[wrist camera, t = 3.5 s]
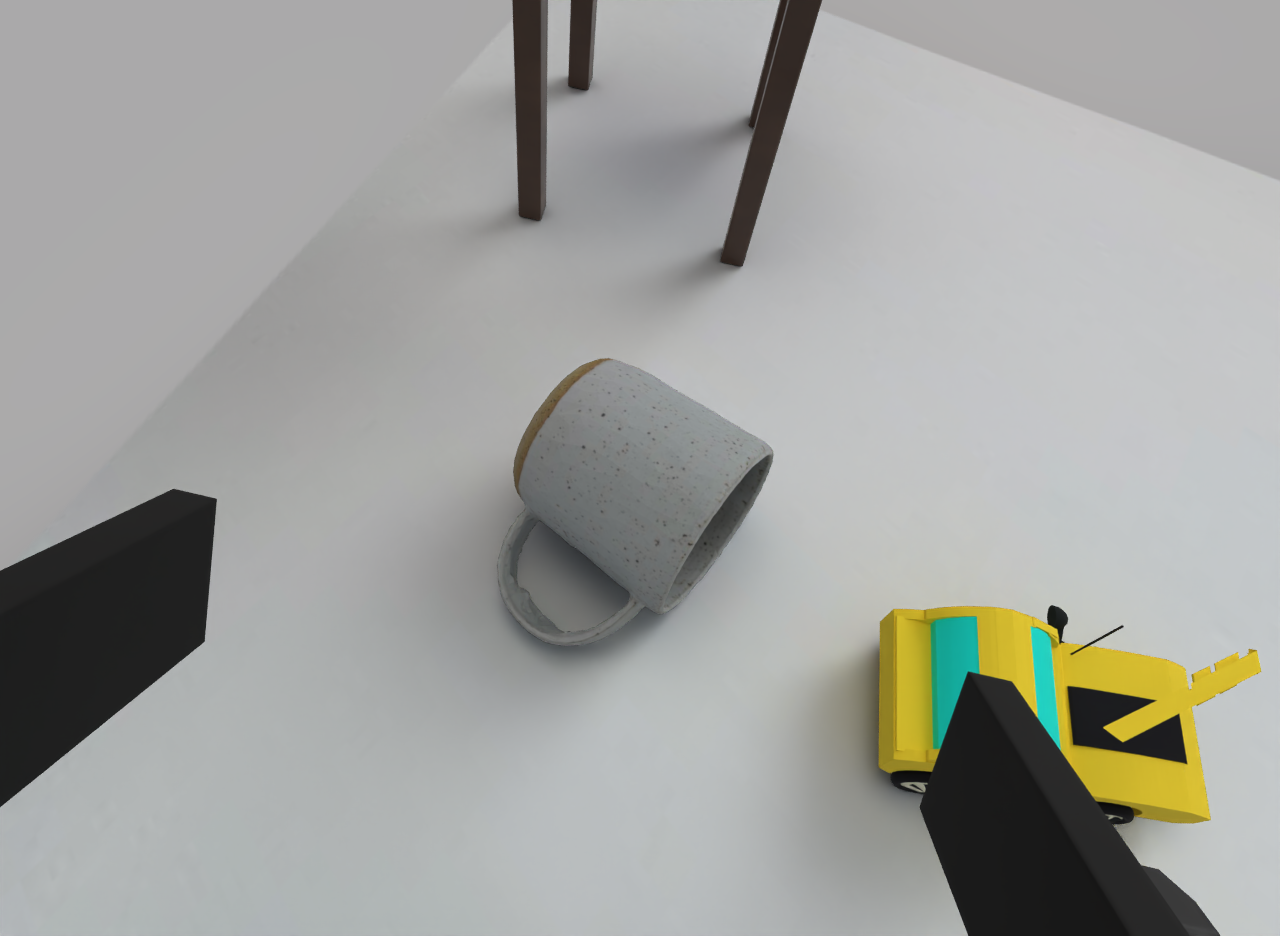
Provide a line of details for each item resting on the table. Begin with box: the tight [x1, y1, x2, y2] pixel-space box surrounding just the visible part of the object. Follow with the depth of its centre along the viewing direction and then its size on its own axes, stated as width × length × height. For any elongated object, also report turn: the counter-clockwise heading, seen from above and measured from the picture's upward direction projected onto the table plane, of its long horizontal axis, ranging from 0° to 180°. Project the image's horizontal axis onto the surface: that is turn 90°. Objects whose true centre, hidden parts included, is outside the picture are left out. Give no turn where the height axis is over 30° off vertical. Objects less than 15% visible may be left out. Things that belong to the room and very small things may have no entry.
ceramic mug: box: [497, 358, 773, 646], centre depth 33 cm, size 11×8×8 cm
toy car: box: [879, 605, 1261, 824], centre depth 31 cm, size 12×8×8 cm, turn 82°
